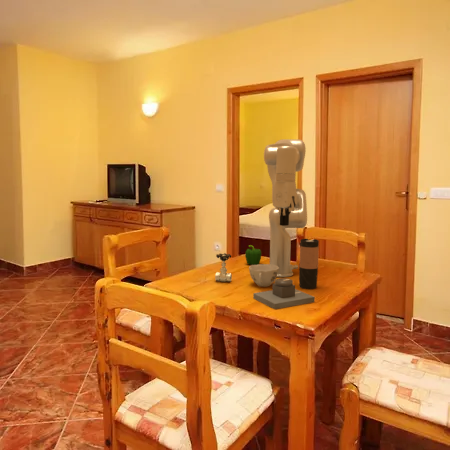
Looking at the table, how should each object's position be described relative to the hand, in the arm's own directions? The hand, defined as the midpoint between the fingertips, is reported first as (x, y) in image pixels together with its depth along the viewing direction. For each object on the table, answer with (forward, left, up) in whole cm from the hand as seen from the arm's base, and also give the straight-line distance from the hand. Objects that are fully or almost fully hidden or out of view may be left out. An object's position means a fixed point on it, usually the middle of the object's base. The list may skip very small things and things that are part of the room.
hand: (284, 225), depth 162 cm
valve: (+14, -24, -27) cm, 39 cm away
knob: (+6, +9, -25) cm, 27 cm away
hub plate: (+6, +9, -27) cm, 29 cm away
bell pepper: (-16, -47, -27) cm, 57 cm away
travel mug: (-14, -1, -27) cm, 31 cm away
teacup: (+2, -11, -27) cm, 30 cm away
